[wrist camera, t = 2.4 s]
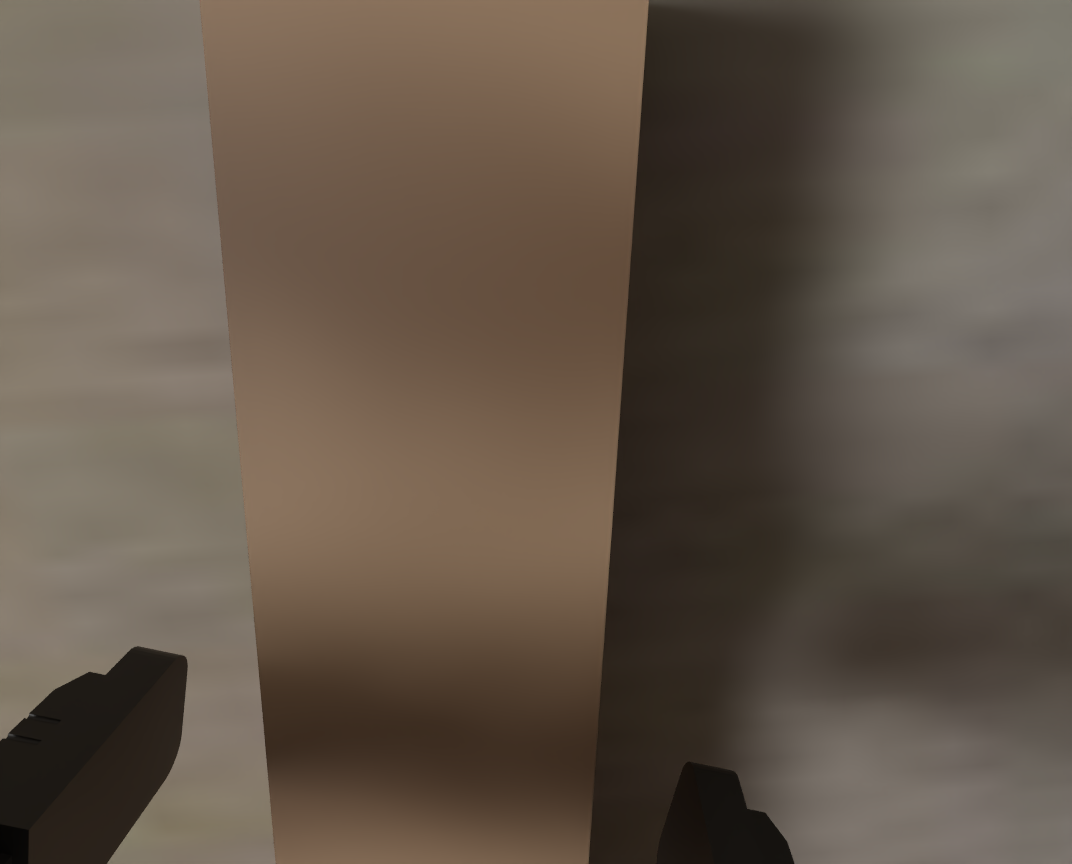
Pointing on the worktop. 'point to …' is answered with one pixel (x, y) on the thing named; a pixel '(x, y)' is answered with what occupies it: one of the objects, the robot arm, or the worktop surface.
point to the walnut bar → (427, 406)
